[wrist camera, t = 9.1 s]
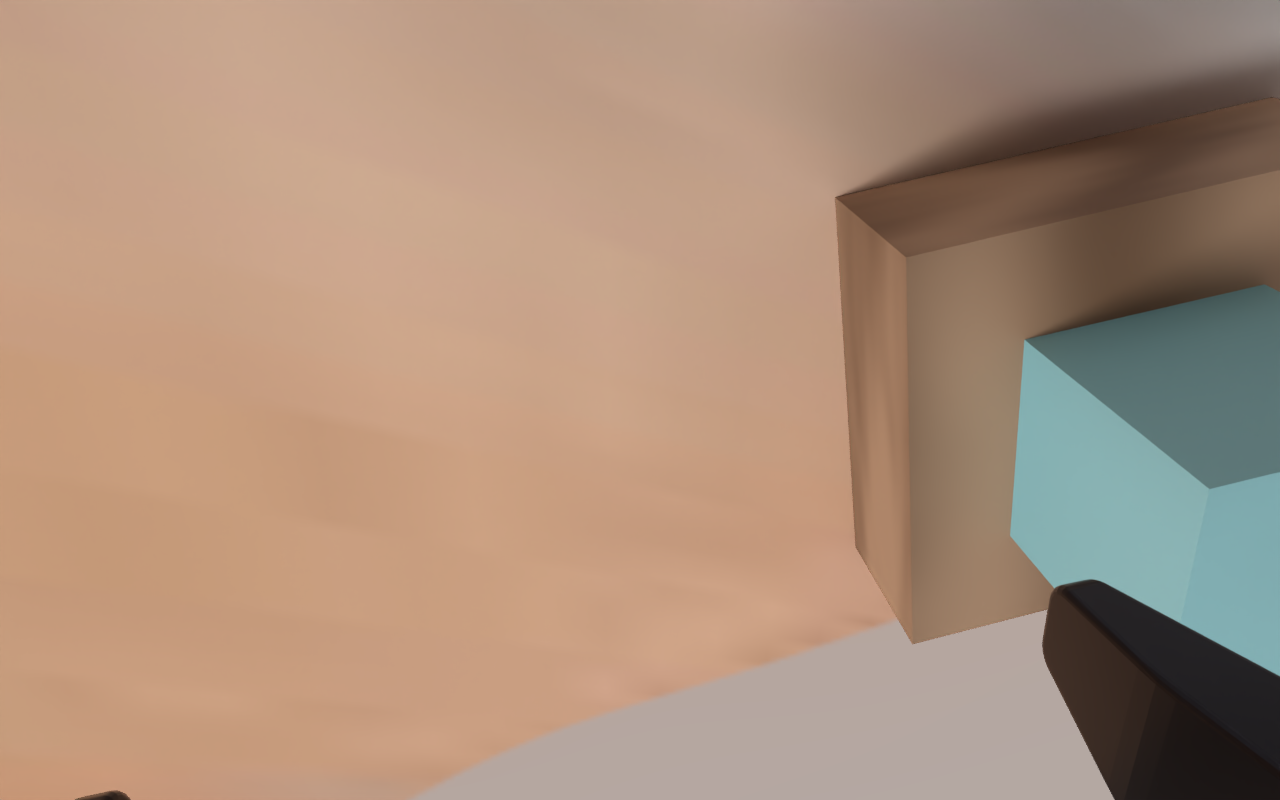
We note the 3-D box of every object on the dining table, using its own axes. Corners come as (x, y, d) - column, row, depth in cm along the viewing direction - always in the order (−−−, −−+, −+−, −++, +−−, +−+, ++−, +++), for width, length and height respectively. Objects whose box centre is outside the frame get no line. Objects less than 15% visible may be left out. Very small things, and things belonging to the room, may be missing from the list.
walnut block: (1258, 93, 20) (1422, 136, 16) (1189, 453, 25) (1303, 542, 21) (828, 191, 19) (906, 257, 16) (850, 538, 24) (912, 644, 21)
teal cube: (1264, 284, 17) (1523, 412, 13) (1219, 484, 20) (1422, 645, 16) (1024, 339, 17) (1209, 489, 13) (1010, 535, 20) (1160, 714, 15)
